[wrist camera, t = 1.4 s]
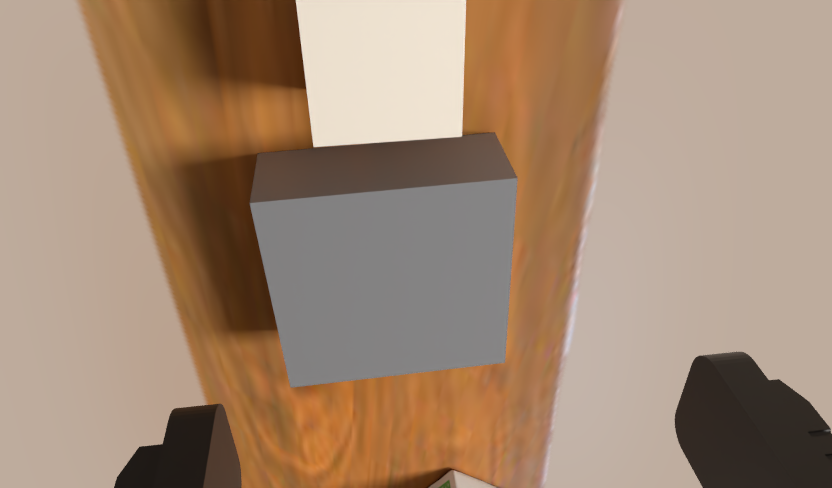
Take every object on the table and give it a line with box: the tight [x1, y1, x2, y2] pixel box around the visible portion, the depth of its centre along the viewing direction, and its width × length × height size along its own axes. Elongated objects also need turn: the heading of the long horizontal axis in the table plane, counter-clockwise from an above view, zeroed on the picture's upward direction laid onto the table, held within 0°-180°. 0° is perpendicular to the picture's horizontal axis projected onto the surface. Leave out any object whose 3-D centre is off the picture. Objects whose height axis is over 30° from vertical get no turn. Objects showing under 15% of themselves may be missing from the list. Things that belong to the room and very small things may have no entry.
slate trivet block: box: [250, 132, 517, 387], centre depth 34 cm, size 12×12×5 cm
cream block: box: [296, 0, 466, 147], centre depth 26 cm, size 6×6×6 cm
